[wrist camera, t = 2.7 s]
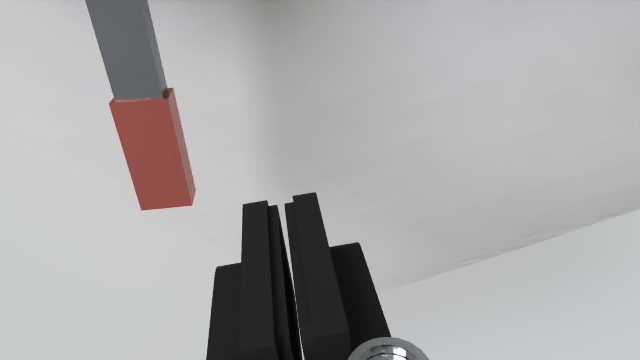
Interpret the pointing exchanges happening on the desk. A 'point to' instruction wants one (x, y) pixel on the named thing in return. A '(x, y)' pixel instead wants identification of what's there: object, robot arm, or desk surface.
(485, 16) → the desk surface
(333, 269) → the robot arm
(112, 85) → the lever
